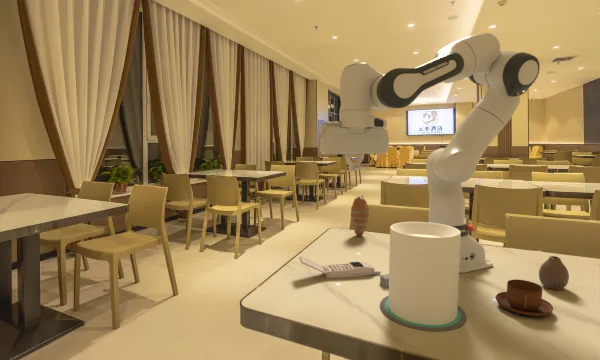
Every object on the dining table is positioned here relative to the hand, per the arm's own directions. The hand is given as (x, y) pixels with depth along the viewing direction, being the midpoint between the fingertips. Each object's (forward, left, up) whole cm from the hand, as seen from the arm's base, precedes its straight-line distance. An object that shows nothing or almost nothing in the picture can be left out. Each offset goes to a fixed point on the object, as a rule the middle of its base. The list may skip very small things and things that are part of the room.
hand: (354, 169), depth 103 cm
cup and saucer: (-34, +27, -34) cm, 55 cm away
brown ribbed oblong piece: (-23, -47, -33) cm, 62 cm away
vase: (-53, +19, -33) cm, 65 cm away
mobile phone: (+2, -5, -34) cm, 34 cm away
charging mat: (-9, +18, -33) cm, 39 cm away
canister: (-9, +22, -33) cm, 41 cm away
